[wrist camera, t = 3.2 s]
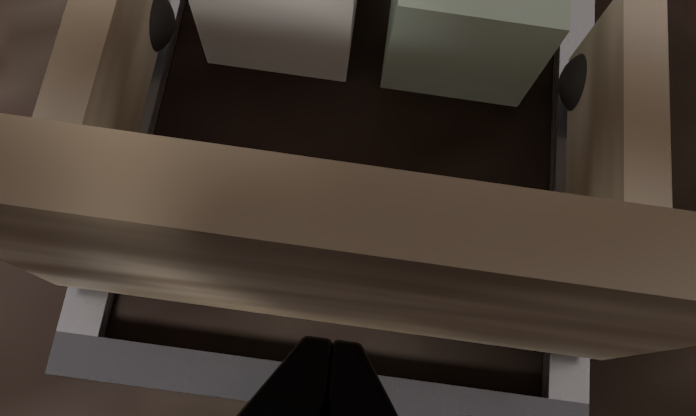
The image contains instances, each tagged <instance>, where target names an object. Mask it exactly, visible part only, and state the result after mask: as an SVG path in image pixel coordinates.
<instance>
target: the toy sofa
mask: <svg viewBox="0 0 696 416" xmlns="http://www.w3.org/2000/svg"><path fill="white" fill-rule="evenodd" d="M170 3H171V0H68V2H67V5H66V8H65V12H64V15H63V18H62V21H61V24H60V28H59V31H58V34H57V37H56V41H55V44H54V47H53V50H52V54H51V57H50V60H49V63H48V67H47V70H46V73H45V76H44V80H43V83H42V86H41V89H40V93H39V96H38V99H37V102H36V106H35V109H34V112H33V115H32V118H31V117H24V116H17V115H10V114H3V113H0V259H1V260H3V261H6V262H8V263H10V264H12V265H14V266H16V267H18V268H21V269H23V270H25V271H27V272H29V273H31V274H34V275H36V276H38V277H40V278H42V279H44V280H46V281H49V282H51V283H53V284H55V285H60V286H68V287H75V288H82V289H89V290H97V291H104V292H111V293H118V294H126V295H133V296H140V297H147V298H155V299H162V300H169V301H176V302H184V303H191V304H198V305H205V306H213V307H220V308H227V309H234V310H242V311H249V312H256V313H263V314H271V315H278V316H285V317H292V318H300V319H307V320H314V321H321V322H329V323H336V324H343V325H350V326H358V327H365V328H372V329H379V330H387V331H394V332H401V333H408V334H416V335H423V336H430V337H437V338H445V339H452V340H459V341H466V342H474V343H481V344H488V345H495V346H503V347H510V348H517V349H524V350H532V351H539V352H546V353H554V354H561V355H568V356H575V357H583V358H590V359H597V360H607V359H614V358H620V357H627V356H634V355H640V354H647V353H654V352H660V351H667V350H674V349H681V348H687V347H694V346H696V211H689V210H682V209H675V208H673V204H672V167H671V129H670V91H669V53H668V15H667V0H612V2H611V3H610V5H609V6H608V7H607V9H606V10H605V11H604V13H603V14H602V15H601V17H600V18H599V19H598V21H597V22H596V23H595V25H594V26H593V27H592V29H591V30H590V31H589V33H588V34H587V35H586V37H585V38H584V39H583V41H582V42H581V43H580V45H579V46H578V47H577V49H576V50H575V51H574V53H573V54H572V55H571V57H570V58H569V62H568V63H567V64H566V66H565V67H564V69H563V70H562V72H561V74H560V77H559V81H558V93H559V97H560V100H561V102H562V104H563V105H564V107H565V108H566V109H567V143H566V179H565V193H562V192H555V191H548V190H541V189H534V188H526V187H519V186H512V185H505V184H498V183H491V182H484V181H477V180H470V179H463V178H456V177H449V176H442V175H435V174H427V173H420V172H413V171H406V170H399V169H392V168H385V167H378V166H371V165H364V164H357V163H350V162H343V161H335V160H328V159H321V158H314V157H307V156H300V155H293V154H286V153H279V152H272V151H265V150H258V149H251V148H244V147H236V146H229V145H222V144H215V143H208V142H201V141H194V140H187V139H180V138H173V137H166V136H159V135H152V134H144V133H138V131H139V127H140V123H141V119H142V115H143V111H144V107H145V103H146V99H147V95H148V91H149V87H150V83H151V79H152V75H153V71H154V67H155V63H156V59H157V55H158V51H160V50H161V49H163V48H164V47H165V46H166V45H167V44H168V43H169V41H170V40H171V38H172V36H173V34H174V30H175V15H174V11H173V8H172V6H171V4H170Z"/></svg>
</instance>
